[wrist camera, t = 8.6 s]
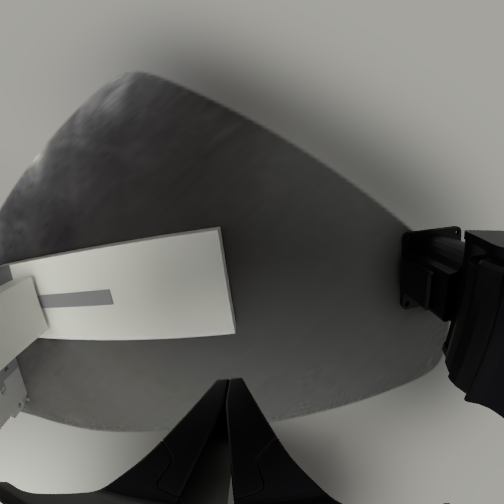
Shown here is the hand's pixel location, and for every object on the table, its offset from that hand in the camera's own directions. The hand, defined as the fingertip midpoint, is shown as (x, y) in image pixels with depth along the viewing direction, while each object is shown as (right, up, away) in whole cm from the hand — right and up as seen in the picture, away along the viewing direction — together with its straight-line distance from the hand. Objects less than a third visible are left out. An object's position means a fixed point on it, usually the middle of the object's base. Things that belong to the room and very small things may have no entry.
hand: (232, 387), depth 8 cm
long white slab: (-13, +1, +12) cm, 18 cm away
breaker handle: (-20, 0, +10) cm, 22 cm away
